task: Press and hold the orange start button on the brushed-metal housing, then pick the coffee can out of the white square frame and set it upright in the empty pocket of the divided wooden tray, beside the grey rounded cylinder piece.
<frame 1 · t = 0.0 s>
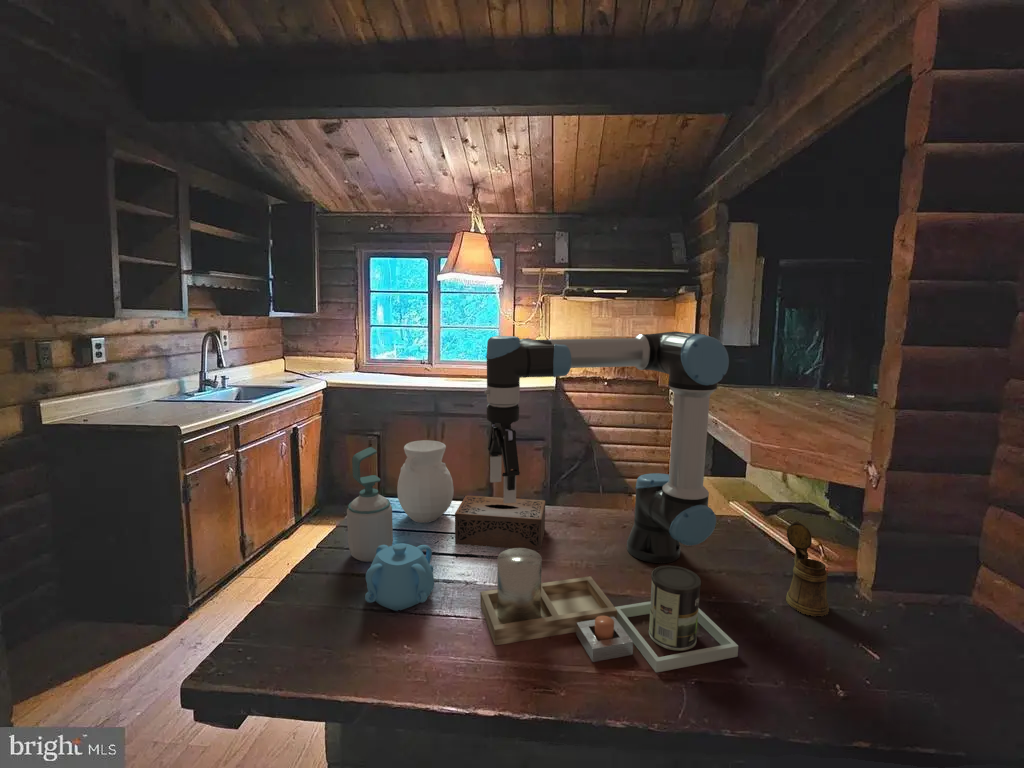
hand: (502, 491, 125), 28 cm above the table, fingers open, 13 cm apart
coffee can: (672, 636, 117), resting in white square frame
button: (604, 629, 113), point 4 cm above the table, slide at 0.0 cm
tissue box cover: (501, 537, 163), on the table
soap bottle: (371, 555, 151), on the table
wooden mug: (802, 601, 130), on the table
divided wooden tray: (546, 615, 124), on the table
white vase: (426, 517, 177), on the table
button housing: (603, 644, 113), on the table
grey rounded cylinder piece: (518, 614, 122), point 1 cm above the table, touching divided wooden tray
decorative pot: (401, 597, 130), on the table
white square frame: (672, 635, 117), on the table
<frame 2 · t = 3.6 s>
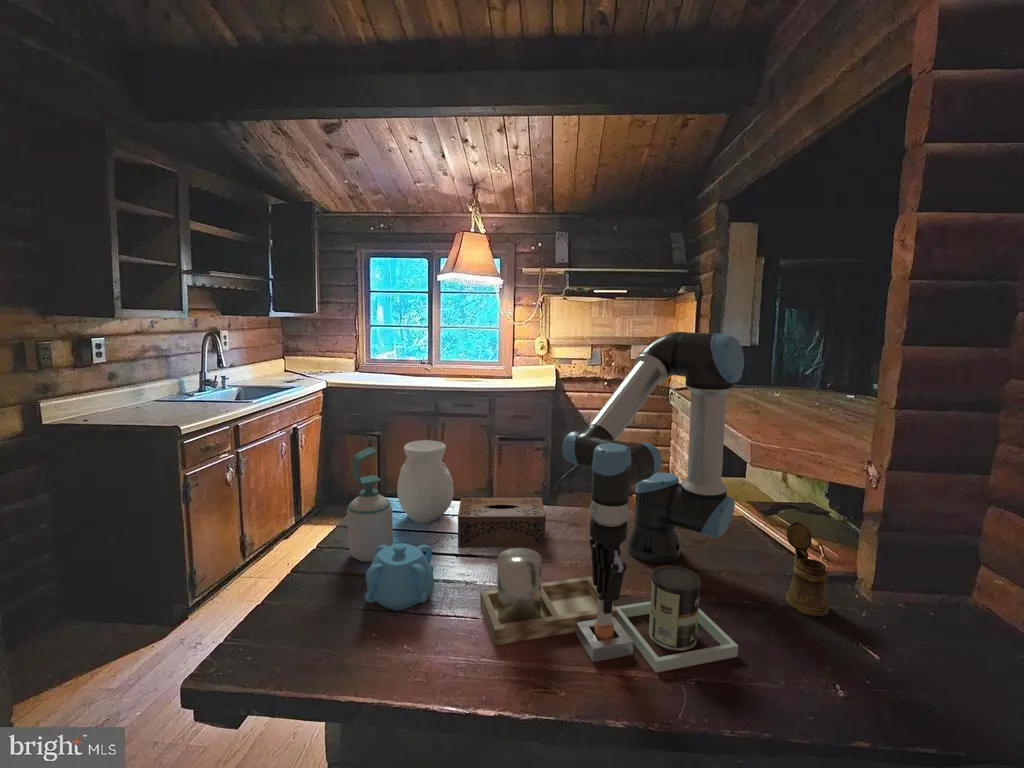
hand: (604, 623, 112), 5 cm above the table, fingers closed
button: (604, 632, 113), point 3 cm above the table, slide at -0.7 cm
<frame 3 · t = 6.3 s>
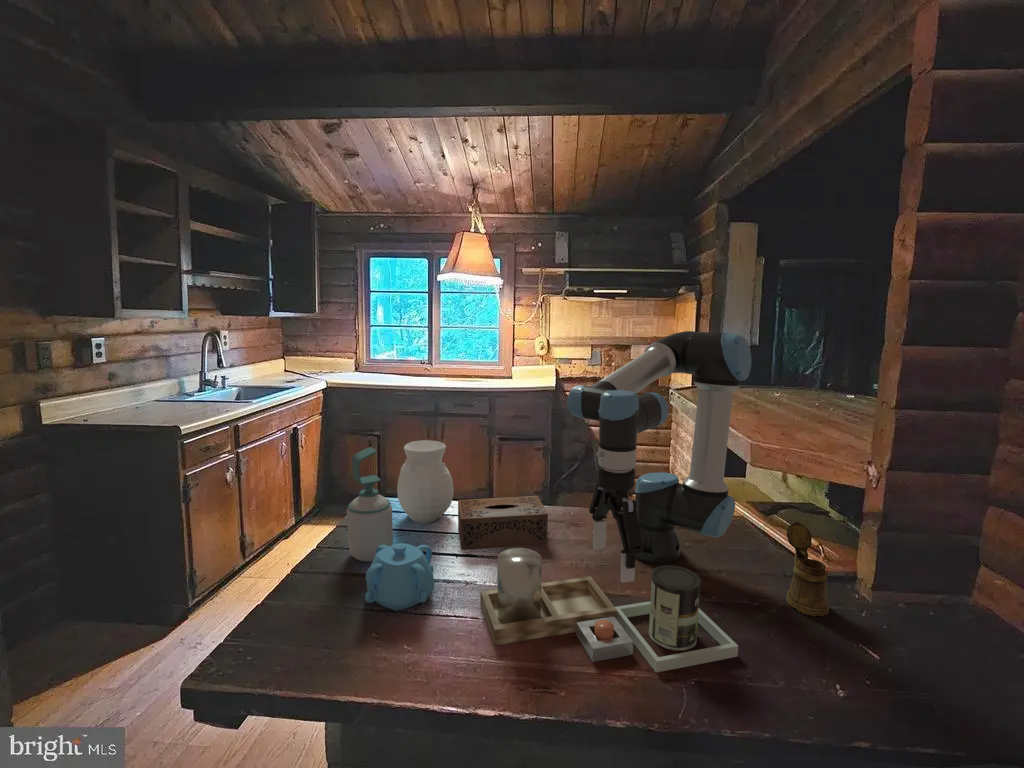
hand: (612, 564, 111), 18 cm above the table, fingers open, 13 cm apart
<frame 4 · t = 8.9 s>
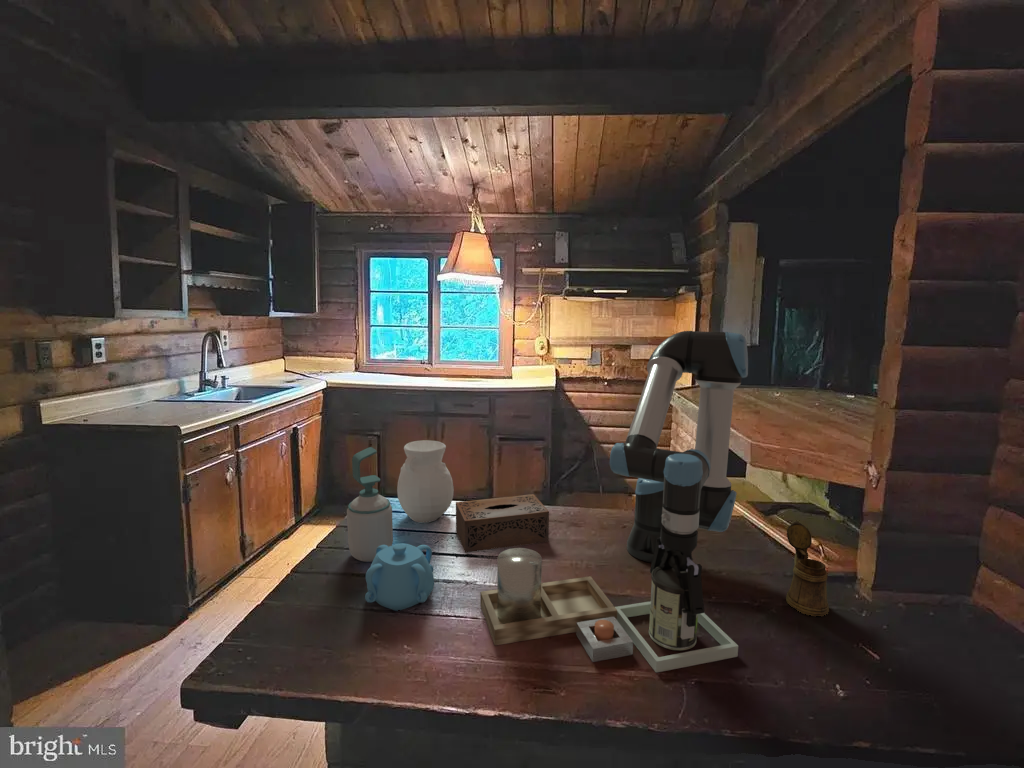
hand: (673, 622, 116), 3 cm above the table, fingers closed on coffee can, 10 cm apart
coffee can: (672, 636, 117), resting in white square frame, touching gripper
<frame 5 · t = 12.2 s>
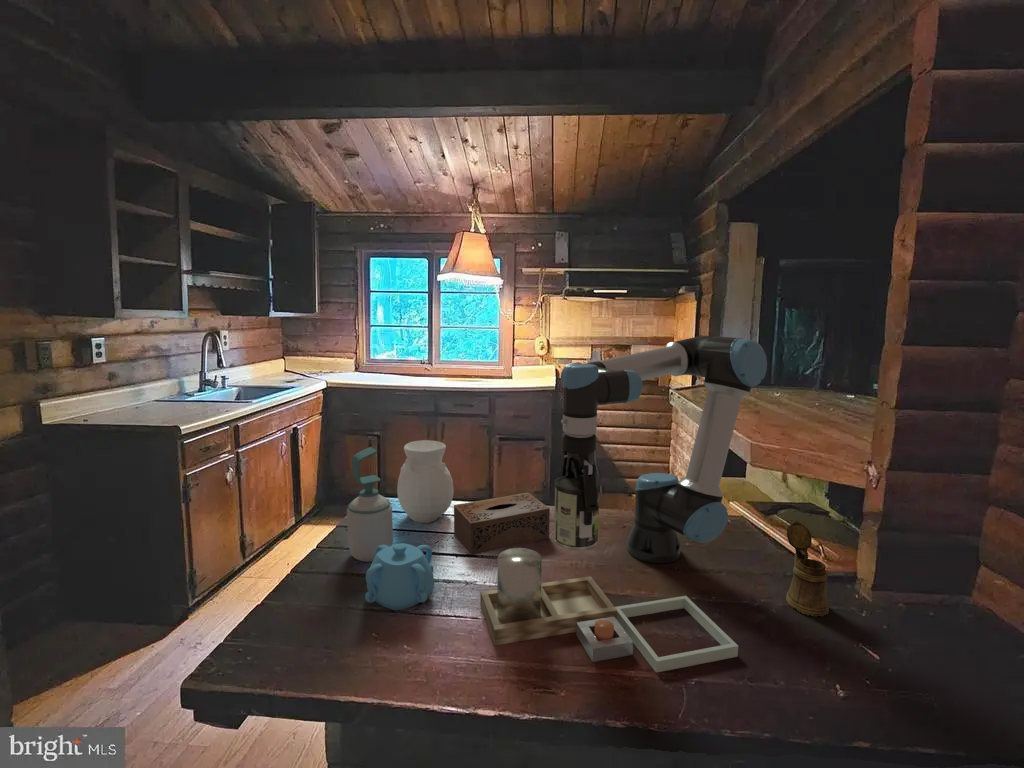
hand: (576, 526, 122), 21 cm above the table, fingers closed on coffee can, 10 cm apart
coffee can: (575, 540, 122), point 18 cm above the table, touching gripper
when the fingers open (6 cm above the table, at t = 15.4 s): coffee can drops 2 cm, resting on divided wooden tray.
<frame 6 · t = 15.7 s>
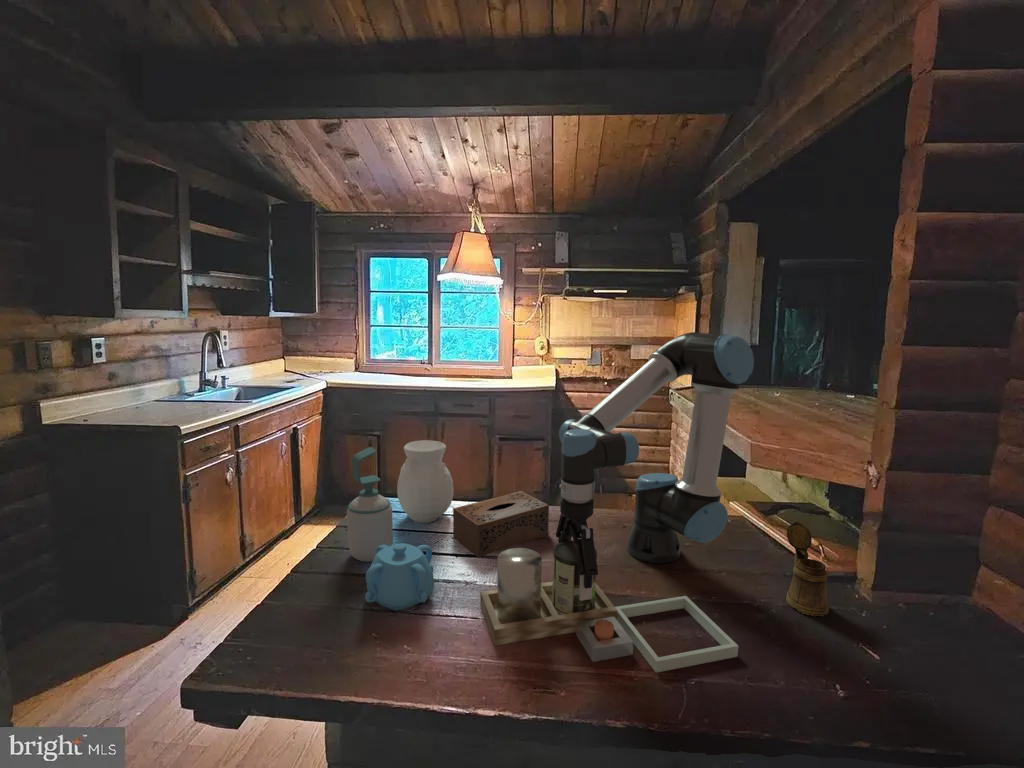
hand: (574, 583, 124), 7 cm above the table, fingers open, 13 cm apart
coffee can: (573, 606, 125), point 1 cm above the table, touching divided wooden tray
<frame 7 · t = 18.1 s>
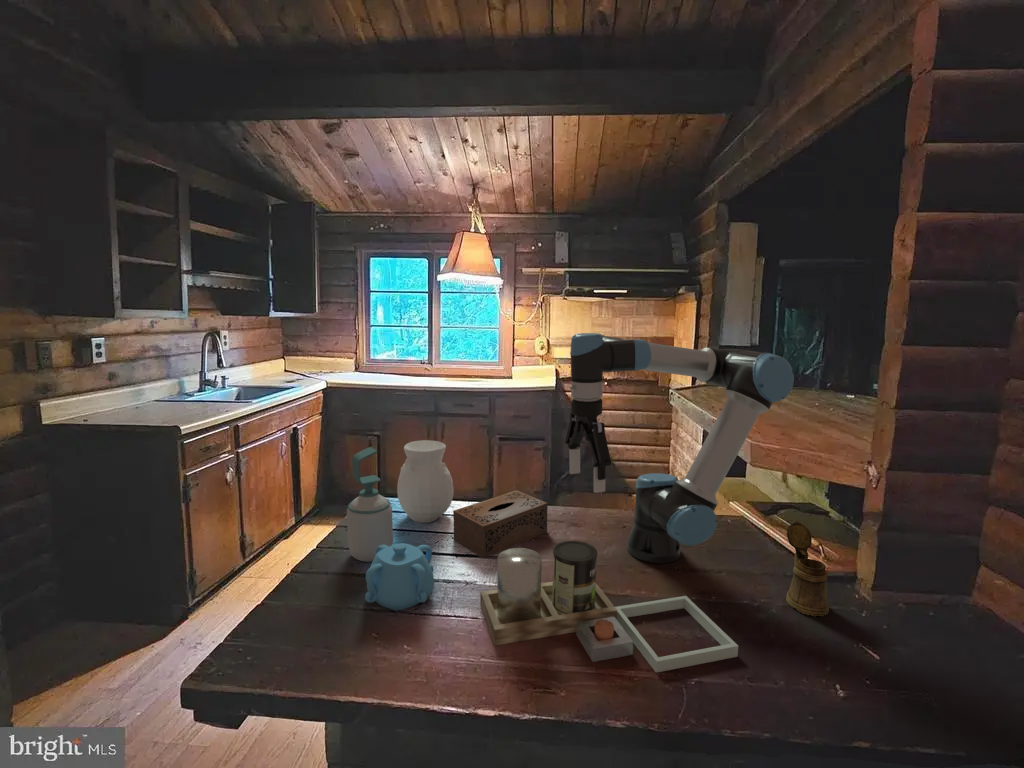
hand: (586, 482, 130), 28 cm above the table, fingers open, 13 cm apart
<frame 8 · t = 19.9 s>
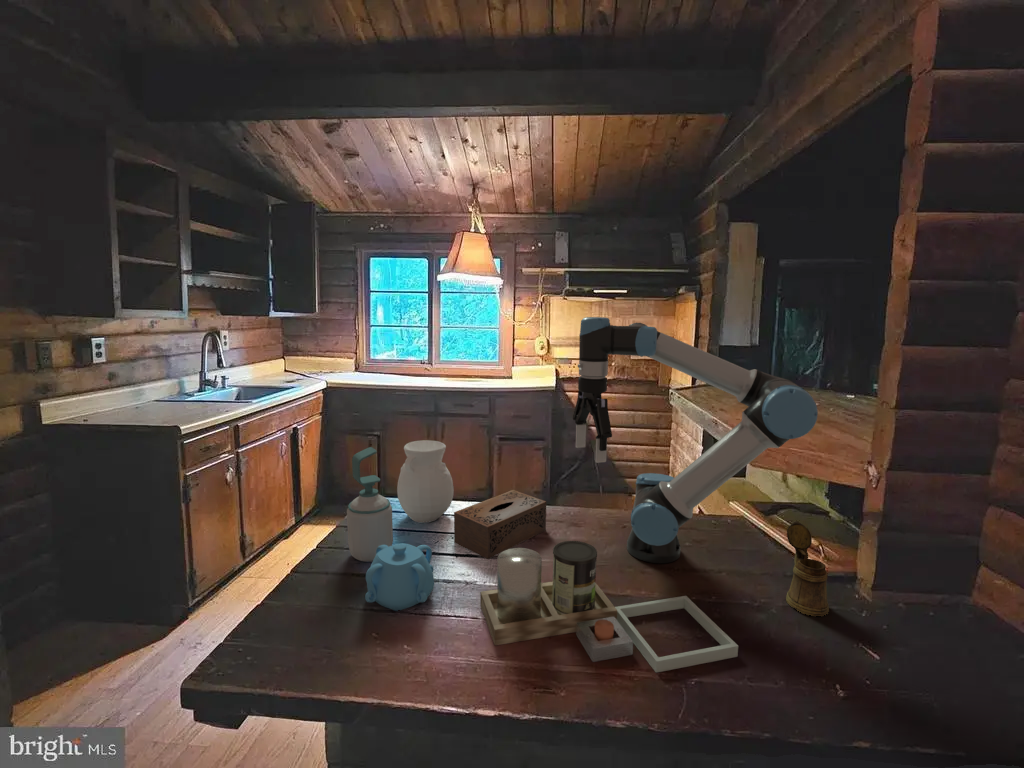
hand: (590, 454, 142), 32 cm above the table, fingers open, 13 cm apart
at the end: coffee can inside the target area on the divided wooden tray (0.3 cm from its centre), point 1.0 cm above the divided wooden tray's base; coffee can tilted 0°; button slide at -1.0 cm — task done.
